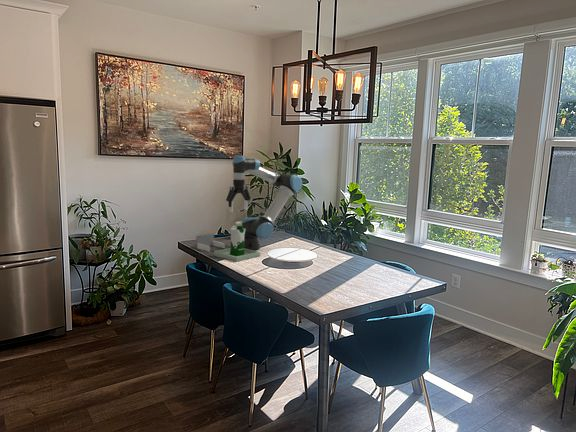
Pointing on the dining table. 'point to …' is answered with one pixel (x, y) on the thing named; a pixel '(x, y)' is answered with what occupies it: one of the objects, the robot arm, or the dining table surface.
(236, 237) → the soya milk
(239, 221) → the pitcher
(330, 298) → the dining table surface
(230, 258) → the tray
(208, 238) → the dock
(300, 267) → the dining table surface
